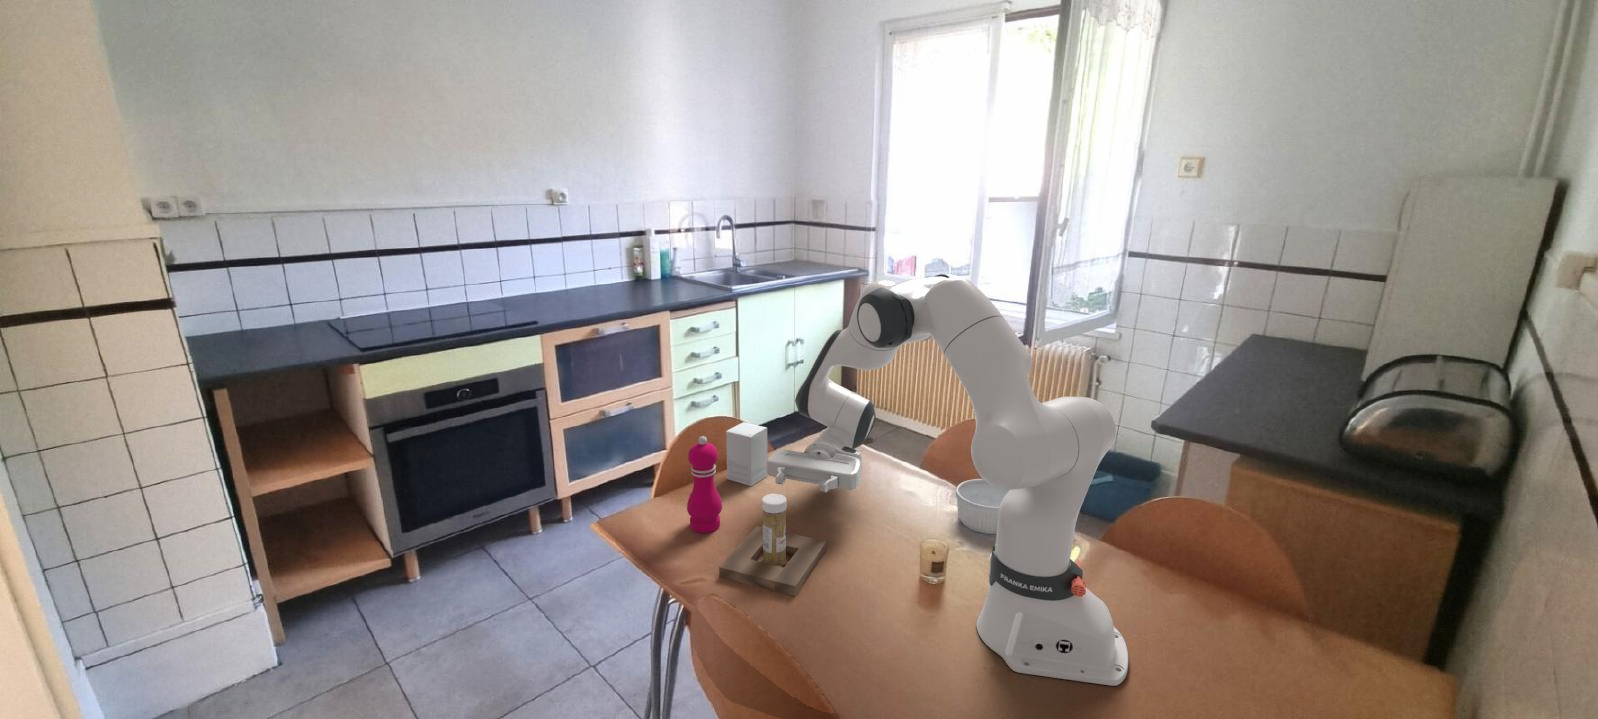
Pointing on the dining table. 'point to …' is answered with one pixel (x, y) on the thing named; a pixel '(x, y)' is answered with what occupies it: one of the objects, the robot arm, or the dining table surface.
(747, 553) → the wooden square frame
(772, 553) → the sprinkles bottle
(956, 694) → the dining table surface
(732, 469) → the supplement box
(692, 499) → the pepper mill
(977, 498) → the ramekin
